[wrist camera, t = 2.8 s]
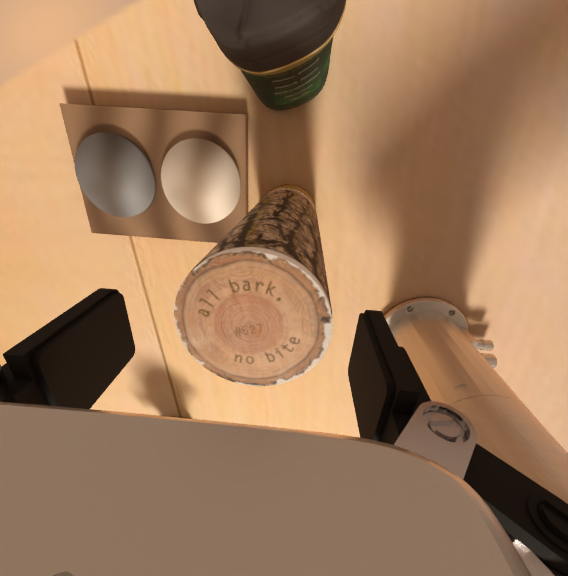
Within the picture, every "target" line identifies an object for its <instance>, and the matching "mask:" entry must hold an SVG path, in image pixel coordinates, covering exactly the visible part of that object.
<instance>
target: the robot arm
mask: <svg viewBox="0 0 568 576" xmlns="http://www.w3.org/2000/svg"><path fill="white" fill-rule="evenodd" d="M493 347H494V346H493V342H492V341H490V340H475V339H474V338H473V337H472V336H471V335H470V334H469V327H468V324H467V320H466V319H465V317H464V315H463V314H462V313H461V312H460V311H459V310H458V309H457V308H456V307H455V306H453V305H452V304H450V303H448V302H446V301H444V300H441V299H437V298H417V299H412V300H408V301H406V302H403V303H401V304H399V305H397V306H396V307H394V308H392V309H391V310H390V311H389V312H387V313H386V314H385V315H383V313H382V312H381V311H373V310H366V311H365V313H360V315H359V319H358V324H357V329H356V333H355V338H354V343H353V348H352V352H351V357H350V362H349V367H348V376H349V382H350V387H351V392H352V397H353V402H354V407H355V412H356V417H357V422H358V427H359V432H360V438H358V437H351V436H345V435H338V434H330V433H322V432H313V431H304V430H295V429H286V428H276V427H267V426H257V425H247V424H237V423H227V422H218V421H207V420H197V419H187V418H177V417H166V416H156V415H145V414H135V413H124V412H113V411H102V410H91V409H90V408H91V407H92V405H93V404H94V403H95V402H96V401H97V399H98V398H99V397H100V396H101V395H102V393H103V392H104V391H105V390H106V389H107V387H108V386H109V385H110V384H111V383H112V381H113V380H114V379H115V378H116V376H117V375H118V374H119V373H120V372H121V370H122V369H123V368H124V367H125V366H126V364H127V363H128V362H129V361H130V360H131V358H132V357H133V356H134V353H135V345H134V340H133V336H132V332H131V327H130V323H129V319H128V314H127V310H126V305H125V301H124V297H123V295H122V294H121V293H119V291H118V290H116V289H104V288H100V289H98V290H97V291H95V292H94V293H92V294H91V295H89V296H88V297H86V298H85V299H83V300H82V301H80V302H79V303H77V304H76V305H74V306H73V307H71V308H70V309H69V310H67V311H66V312H64V313H63V314H61V315H60V316H58V317H57V318H55V319H54V320H52V321H51V322H49V323H48V324H46V325H45V326H43V327H42V328H40V329H39V330H38V331H36V332H35V333H33V334H32V335H30V336H29V337H27V338H26V339H24V340H23V341H21V342H20V343H18V344H17V345H15V346H14V347H12V348H11V349H9V350H8V351H7V352H5V353H4V354H3V356H4V358H5V360H6V362H7V363H6V364H5V365H3V366H2V367H1V365H0V576H568V453H567V452H566V451H565V449H564V448H563V447H562V446H561V445H560V444H559V443H558V442H557V441H556V440H555V439H554V437H553V436H552V435H551V434H550V433H549V432H548V431H547V430H546V429H545V428H544V426H543V425H542V424H541V423H540V422H539V421H538V420H537V418H536V417H535V416H534V415H533V414H532V413H531V411H530V410H529V409H528V408H527V407H526V406H525V405H524V404H523V402H522V401H521V400H520V399H519V398H518V397H517V395H516V394H515V393H514V392H513V391H512V390H511V388H510V387H509V386H508V385H507V384H506V383H505V382H504V380H503V379H502V378H501V377H500V376H499V375H498V373H497V372H496V371H495V370H494V369H493V368H495V367H496V365H497V359H496V357H495V355H493V354H486V353H479V351H478V350H477V349H480V350H487V351H491V350H492V349H493Z"/></svg>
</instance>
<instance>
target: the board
mask: <svg viewBox="0 0 568 576" xmlns="http://www.w3.org/2000/svg"><path fill="white" fill-rule="evenodd" d="M60 107H61V111H62V115H63V119H64V123H65V127H66V131H67V135H68V139H69V143H70V147H71V151H72V155H73V159H74V163H75V171H76V176H77V179H78V182H79V184H80V187H81V191H82V195H83V199H84V203H85V207H86V211H87V215H88V219H89V223H90V227H91V231H92V233H101V234H113V235H126V236H139V237H151V238H164V239H177V240H189V241H202V242H215V243H219V242H220V241H221V240H222V239H223V238H224V237H225V236H226V235H227V234H228V233H229V232H230V231H231V230H232V229H233V228H234V227H235V226H236V225H237V224H238V223H239V222H240V221H241V220H242V219H243V218H244V217H245V216H246V215H247V214H248V116H247V115H246V114H231V113H214V112H197V111H180V110H163V109H146V108H130V107H113V106H96V105H79V104H62V103H60Z"/></svg>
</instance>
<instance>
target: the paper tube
mask: <svg viewBox="0 0 568 576" xmlns="http://www.w3.org/2000/svg"><path fill="white" fill-rule="evenodd" d="M174 316H175V323H176V327H177V331H178V333H179V336H180V338H181V340H182V342H183V344H184V345H185V347H186V349H187V350H188V351H189V353H190V354H191V355H192V356H193V357H194V358H195V359H196V360H197V361H198V362H199V363H200V364H201V365H202V366H204V367H205V368H206V369H208V370H209V371H211V372H212V373H214V374H216V375H218V376H220V377H222V378H224V379H227V380H230V381H232V382H236V383H240V384H245V385H252V386H270V385H277V384H282V383H286V382H289V381H292V380H294V379H296V378H298V377H300V376H302V375H304V374H305V373H307V372H308V371H309V370H311V369H312V368H313V367H314V366H315V365H316V364H317V363H318V362H319V361H320V360H321V358H322V357H323V355H324V354H325V352H326V350H327V348H328V346H329V343H330V340H331V335H332V309H331V303H330V296H329V290H328V284H327V277H326V271H325V264H324V258H323V251H322V245H321V239H320V232H319V226H318V219H317V213H316V208H315V204H314V202H313V200H312V198H311V197H310V195H309V194H308V193H307V192H306V191H305V190H303V189H301V188H300V187H297V186H294V185H282V186H279V187H276V188H274V189H273V190H271V191H270V192H269V193H268V194H267V195H266V196H265V197H264V198H263V199H262V200H261V201H260V202H259V203H258V204H257V205H256V206H255V207H254V208H253V209H252V210H251V211H250V212H249V213H248V214H247V215H246V216H245V217H244V218H243V219H242V220H241V221H240V222H239V223H238V224H237V225H236V226H235V227H234V228H233V229H232V230H231V231H230V232H229V233H228V234H227V235H226V236H225V237H224V238H223V239H222V240H221V241H220V242H219V243H218V244H217V245H216V246H215V247H214V248H213V249H212V250H211V251H210V252H209V253H208V254H207V255H206V256H205V257H204V258H203V259H202V260H201V261H200V262H199V263H198V264H197V265H196V266H195V267H194V269H193V270H192V271H191V272H190V273H189V275H188V276H187V277H186V279H185V280H184V281H183V283H182V285H181V287H180V288H179V291H178V294H177V297H176V301H175V308H174Z"/></svg>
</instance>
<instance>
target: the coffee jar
mask: <svg viewBox="0 0 568 576" xmlns="http://www.w3.org/2000/svg"><path fill="white" fill-rule="evenodd" d="M194 3H195V6H196V9H197V12H198V14H199V16H200V17H201V18H202V19H203V20H204V21H205V24H206V26H207V28H208V29H209V31H210V33H211V34H212V36H213V37H214V39H215V41H216V42H217V44H218V46H219V48H220V49H221V51H222V52H223V53H224V55H225V56H226V57H227V58H228V59H229V61H231V62H232V63H233V64H234V65H235V66H236V67H238V68H239V69H240V70H241V71H242V73H243V74H244V76H245V77H246V79H247V80H248V82H249V83H250V85H251V87H252V88H253V90H254V91H255V93H256V95H257V96H258V97H259V99H260V100H261V101H262V103H263V104H264V105H266V106H267V107H268V108H270V109H273V110H278V111H281V110H287V109H291V108H293V107H296V106H299V105H301V104H304V103H306V102H307V101H309V100H311V99H312V98H314V97H315V96H316V95H317V94H318V93H319V92H320V91H321V89H322V88H323V86H324V84H325V81H326V78H327V74H328V69H329V62H330V54H331V47H332V41H333V36H334V34H335V32H336V31H337V29H338V27H339V24H340V22H341V20H342V17H343V13H344V10H345V5H346V0H194Z"/></svg>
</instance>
